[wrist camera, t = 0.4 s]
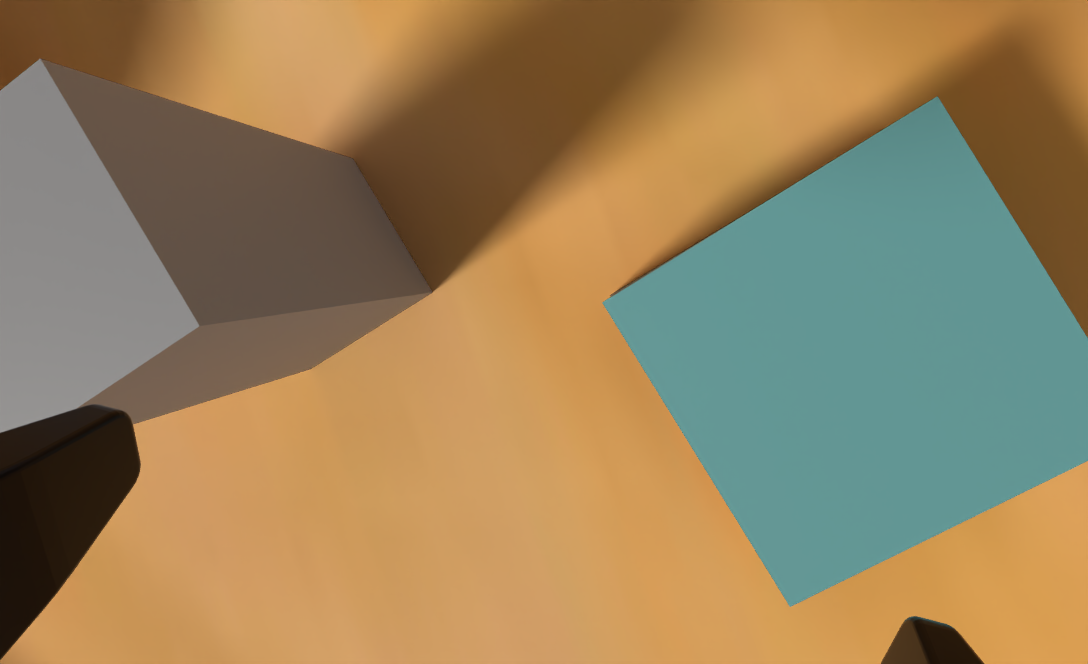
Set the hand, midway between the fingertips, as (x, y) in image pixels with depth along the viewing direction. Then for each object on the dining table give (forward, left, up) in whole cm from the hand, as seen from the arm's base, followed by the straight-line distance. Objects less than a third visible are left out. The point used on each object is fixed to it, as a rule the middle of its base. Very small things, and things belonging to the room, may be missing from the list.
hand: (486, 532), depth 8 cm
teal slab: (+6, -3, -13) cm, 15 cm away
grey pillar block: (-6, +7, -15) cm, 18 cm away
